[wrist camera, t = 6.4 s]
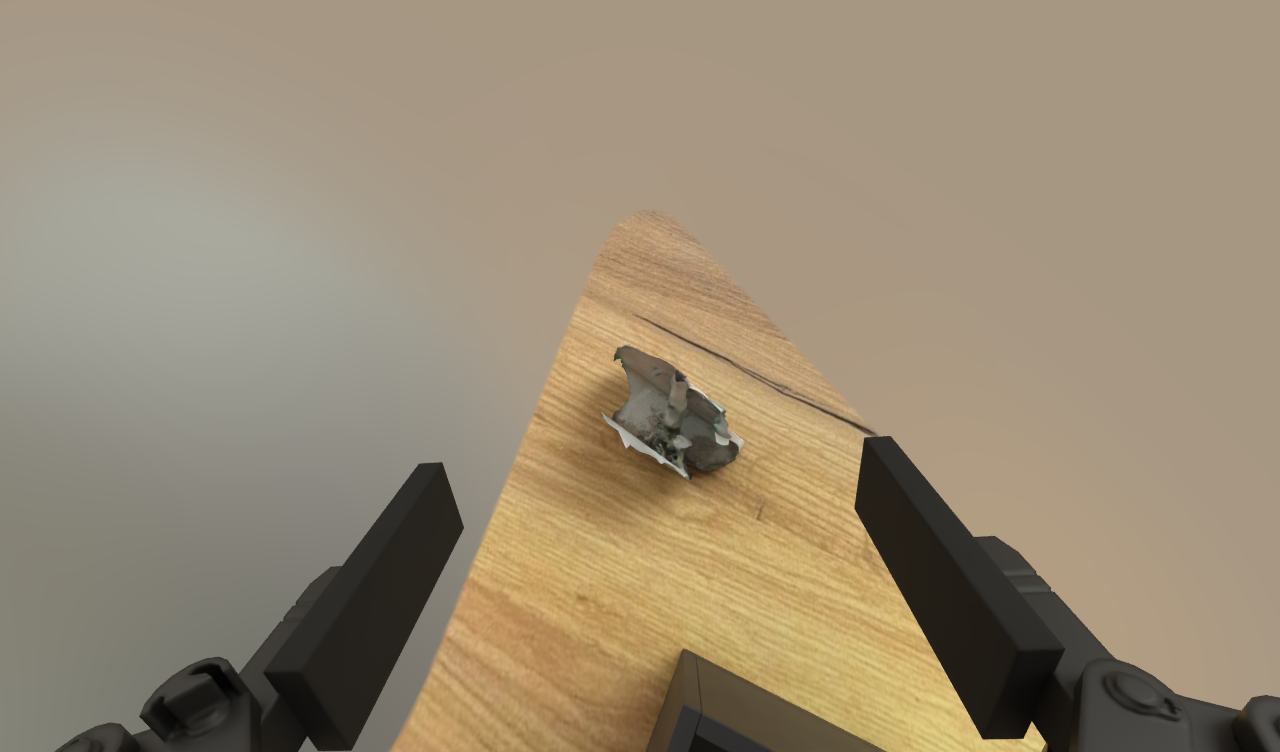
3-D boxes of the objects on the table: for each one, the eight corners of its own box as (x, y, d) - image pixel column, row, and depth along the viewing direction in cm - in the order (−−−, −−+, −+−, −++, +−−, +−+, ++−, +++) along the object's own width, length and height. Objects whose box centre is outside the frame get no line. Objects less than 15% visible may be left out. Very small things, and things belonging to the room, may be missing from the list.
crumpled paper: (625, 359, 26) (606, 300, 20) (747, 441, 24) (771, 405, 18) (578, 419, 25) (541, 378, 19) (700, 510, 23) (707, 499, 17)
